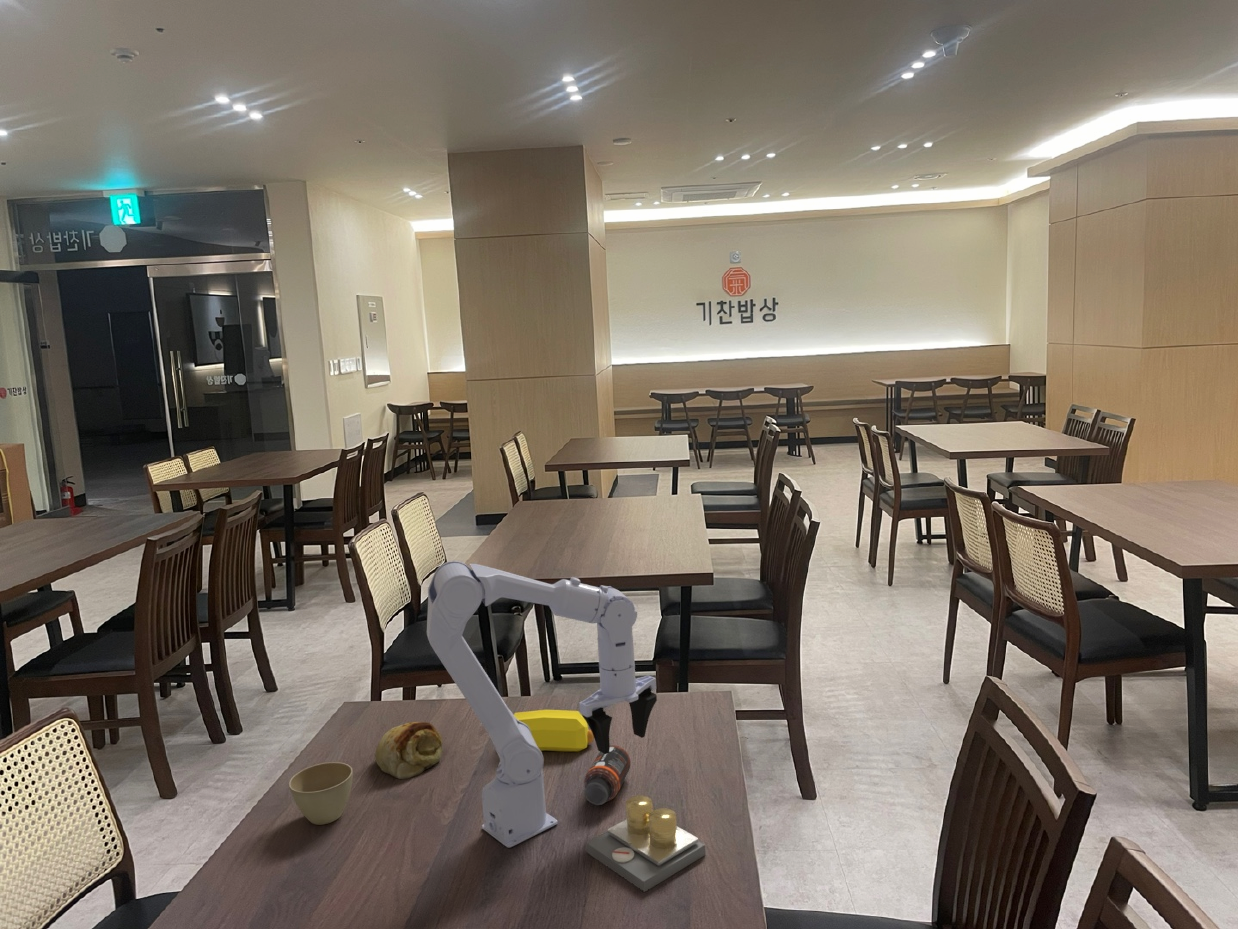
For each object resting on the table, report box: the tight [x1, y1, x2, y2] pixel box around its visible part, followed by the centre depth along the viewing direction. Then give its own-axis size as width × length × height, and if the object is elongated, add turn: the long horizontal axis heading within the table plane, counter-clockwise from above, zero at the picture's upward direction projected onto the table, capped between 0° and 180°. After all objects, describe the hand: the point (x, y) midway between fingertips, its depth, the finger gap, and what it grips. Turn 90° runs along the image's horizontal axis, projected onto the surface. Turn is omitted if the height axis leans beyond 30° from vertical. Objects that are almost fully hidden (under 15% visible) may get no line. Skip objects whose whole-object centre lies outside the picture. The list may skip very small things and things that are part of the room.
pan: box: [606, 818, 700, 866], centre depth 130 cm, size 8×11×1 cm
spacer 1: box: [625, 795, 654, 835], centre depth 131 cm, size 4×4×4 cm
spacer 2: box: [649, 807, 678, 849], centre depth 127 cm, size 4×4×4 cm
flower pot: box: [288, 761, 354, 826], centre depth 144 cm, size 10×10×7 cm
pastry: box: [374, 721, 444, 780], centre depth 162 cm, size 14×12×8 cm
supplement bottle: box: [583, 744, 632, 806], centre depth 146 cm, size 6×6×11 cm
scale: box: [585, 831, 706, 893], centre depth 129 cm, size 12×13×2 cm
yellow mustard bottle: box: [513, 709, 595, 752], centre depth 164 cm, size 18×7×8 cm
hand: (621, 743), depth 142 cm, fingers open, 7 cm apart
